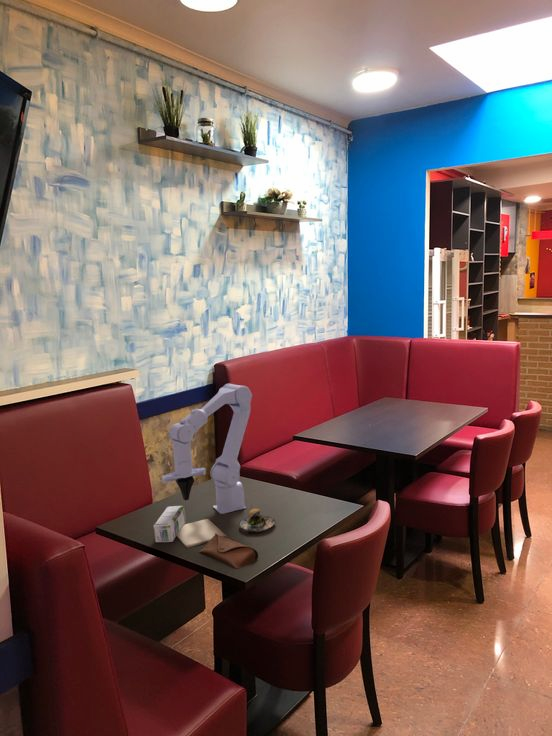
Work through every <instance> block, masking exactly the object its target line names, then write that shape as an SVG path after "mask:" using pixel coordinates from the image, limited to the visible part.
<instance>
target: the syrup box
mask: <svg viewBox="0 0 552 736" xmlns="http://www.w3.org/2000/svg"><path fill="white" fill-rule="evenodd" d="M185 511H186V510H185V506H184V505H173V506H170V505H169V506H167V507H166V508H165V510H164V511H163V512H162V514H161V515H160V517H158V519H157V521H156V522H155V523H154V524H153V533H154V539H155V540H154V541H155V543H171V542H174V540H175V539H176V538H177V536H176V535H177V534H178V532H179V530H180V529H181V527H182V526H183V525H185V524H186V513H185Z"/></svg>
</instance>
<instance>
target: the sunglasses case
mask: <svg viewBox="0 0 552 736" xmlns="http://www.w3.org/2000/svg"><path fill="white" fill-rule="evenodd" d="M198 553H200V554H203V555H206V556H209V557H212V558H213V559H216V560H218V561H220V562H222V563H224V564H227V565H229V566H231V567H232V568H234V569H240V568H242V567H244V566H245V565H248V564H250V563H252V562H253V561H255V560H258V558H259V553H258V551H257V550H256V549H255V548H254V547H250V546H247V545H244V544H243V543H240V542H238V541H235V540H232V539H230V538H227V537H226V538H225V537H222V536H220V535H218V534H216V533H215V535H214V536H213V537H212V539H211V540H210V541H209V542H207V543H205V545H204V546H203V547H202V548H201V549H200V550H199V551H198Z"/></svg>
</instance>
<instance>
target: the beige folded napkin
mask: <svg viewBox="0 0 552 736" xmlns="http://www.w3.org/2000/svg"><path fill="white" fill-rule="evenodd" d="M215 533H216V534H218V535H220V536H222V537H225V538H227V534H225V533H224V532H222V530H221V529H220V528H218V527H217V526H216V525H215V524H214V523H213V521H212V520H210V519H209V518H205V519H201V520H198V521H193V522H190V523H189V522H188V523H184V524H183V526H182V527H181V529H180V530H179V532H178V534H177V535H176V538H177V539H179V541H180V542H181V543H182V544H183V545H184V547H186V548H187V549H189V548H192V547H197V546H198V545H199V546H200V545H203V544H207V543H208V542H209V541H210V540H211V539H212V537H213V536H214V535H215Z"/></svg>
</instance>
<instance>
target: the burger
mask: <svg viewBox="0 0 552 736" xmlns="http://www.w3.org/2000/svg"><path fill="white" fill-rule="evenodd" d="M250 506H251V510H249V512H248V513H247V514H248V515H247V517H245V518H242V519H241V520H240V521H239V522H238V523H239V524H238V526H239V528H238V529H239V532H240V533H242V534H245V535H249V532H255V533H256V532H257V533H259V532H263V531H266V530H269V529H270V528H272V527H273V526H274V525H275V524H276V519H275V518H272V517H270V516H266V515H262V514H260V513H261V510H260V509H259V508H253V507H252V505H250Z"/></svg>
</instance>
